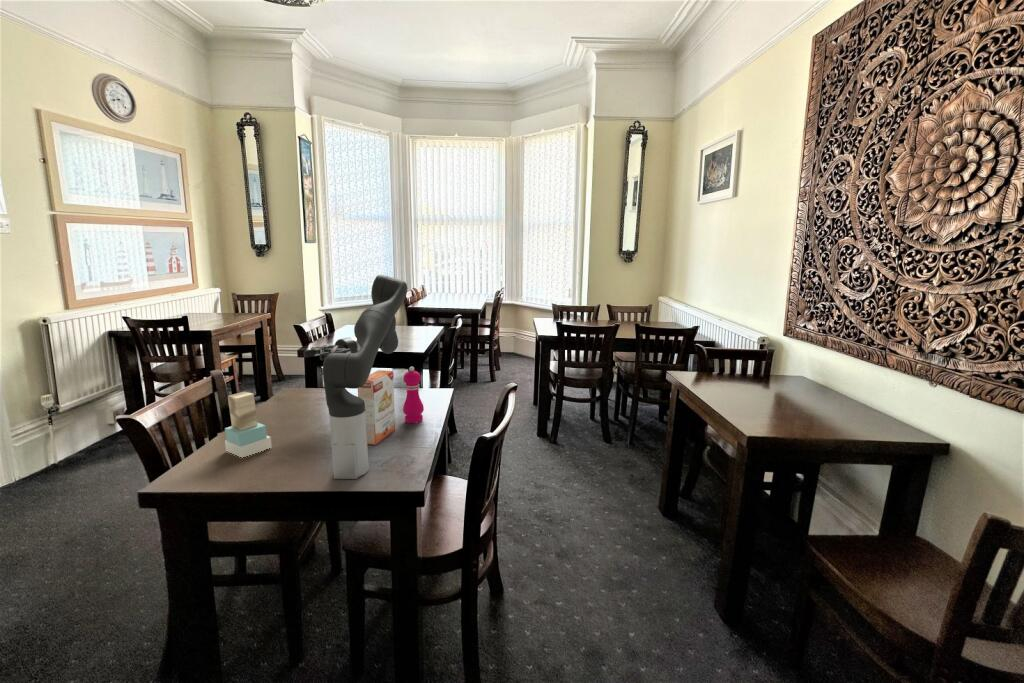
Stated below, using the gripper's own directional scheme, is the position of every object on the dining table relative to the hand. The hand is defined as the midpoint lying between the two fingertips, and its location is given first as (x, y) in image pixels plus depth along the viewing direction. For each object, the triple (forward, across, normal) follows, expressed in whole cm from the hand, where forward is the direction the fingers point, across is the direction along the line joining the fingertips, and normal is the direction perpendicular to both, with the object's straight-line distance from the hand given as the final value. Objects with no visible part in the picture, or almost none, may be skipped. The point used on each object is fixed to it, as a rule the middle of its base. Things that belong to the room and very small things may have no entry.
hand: (312, 355), depth 155 cm
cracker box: (-6, +23, +26) cm, 35 cm away
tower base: (+22, -4, +26) cm, 34 cm away
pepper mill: (-23, +22, +26) cm, 41 cm away
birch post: (+22, -4, +18) cm, 29 cm away
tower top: (+22, -4, +22) cm, 32 cm away
